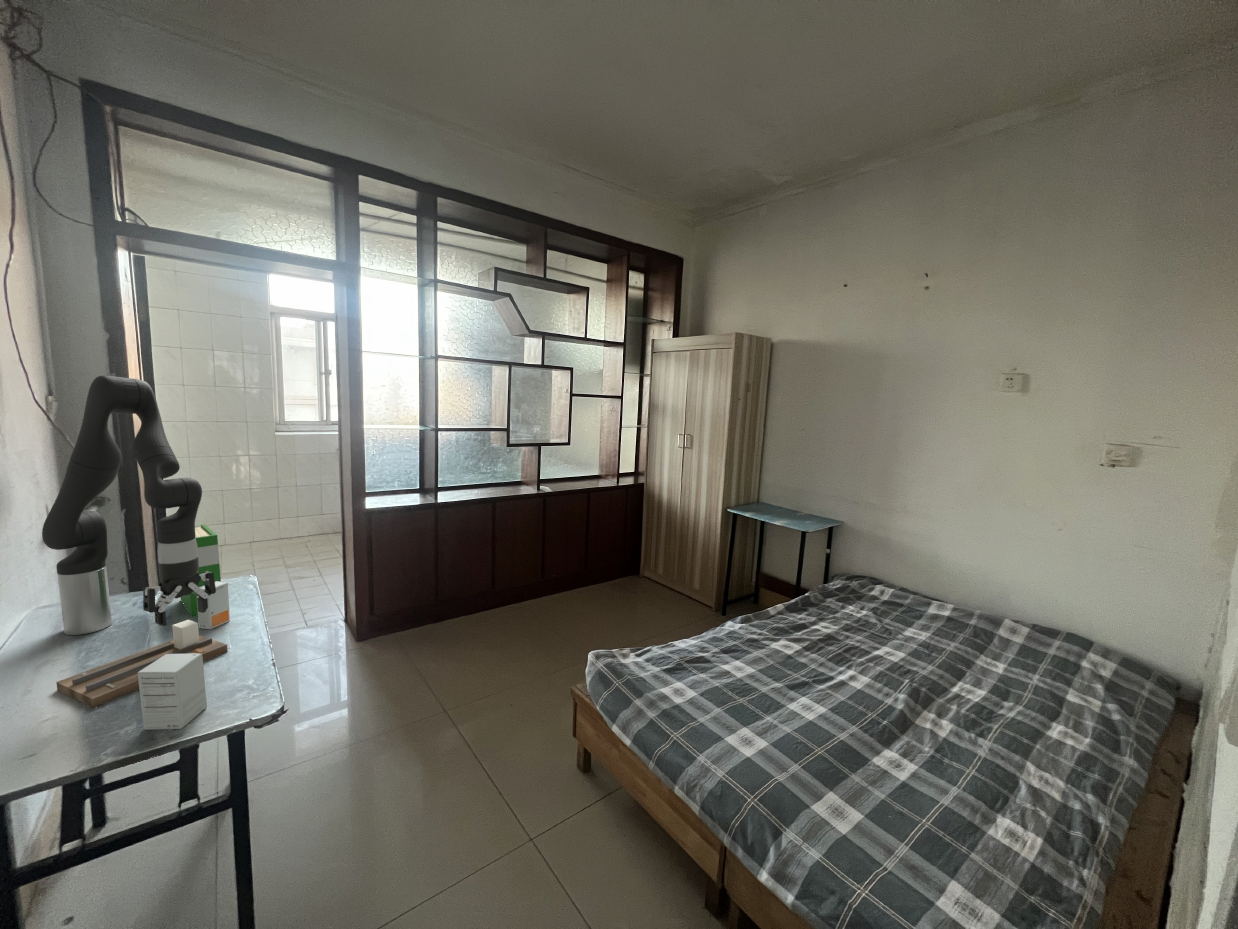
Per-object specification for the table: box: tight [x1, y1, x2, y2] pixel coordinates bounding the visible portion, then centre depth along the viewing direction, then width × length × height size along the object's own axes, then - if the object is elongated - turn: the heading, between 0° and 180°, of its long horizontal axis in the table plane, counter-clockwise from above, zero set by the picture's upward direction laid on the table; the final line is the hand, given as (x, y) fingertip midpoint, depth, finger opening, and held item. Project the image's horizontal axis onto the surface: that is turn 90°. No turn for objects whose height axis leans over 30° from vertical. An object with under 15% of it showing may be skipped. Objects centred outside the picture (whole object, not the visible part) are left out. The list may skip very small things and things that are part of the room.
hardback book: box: [180, 523, 222, 618], centre depth 155 cm, size 18×7×24 cm, turn 49°
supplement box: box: [138, 653, 208, 731], centre depth 102 cm, size 7×7×13 cm
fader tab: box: [171, 619, 200, 649], centre depth 127 cm, size 4×4×6 cm
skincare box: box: [197, 581, 231, 630], centre depth 143 cm, size 6×4×12 cm
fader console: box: [56, 634, 228, 708], centre depth 120 cm, size 15×26×3 cm, turn 158°
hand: (182, 618), depth 126 cm, fingers open, 8 cm apart
